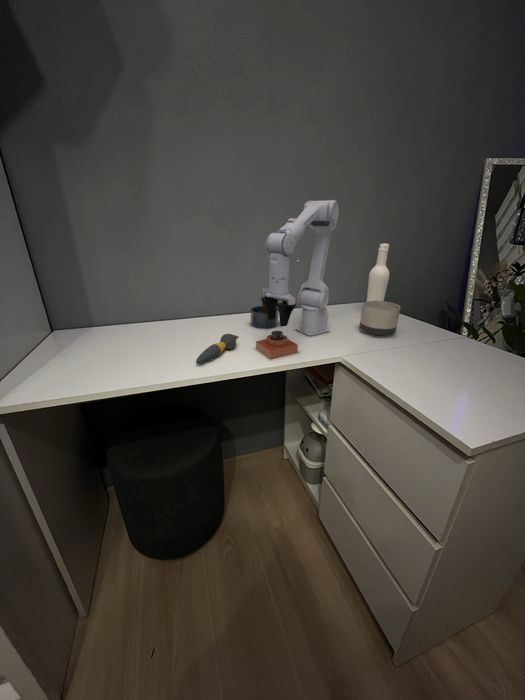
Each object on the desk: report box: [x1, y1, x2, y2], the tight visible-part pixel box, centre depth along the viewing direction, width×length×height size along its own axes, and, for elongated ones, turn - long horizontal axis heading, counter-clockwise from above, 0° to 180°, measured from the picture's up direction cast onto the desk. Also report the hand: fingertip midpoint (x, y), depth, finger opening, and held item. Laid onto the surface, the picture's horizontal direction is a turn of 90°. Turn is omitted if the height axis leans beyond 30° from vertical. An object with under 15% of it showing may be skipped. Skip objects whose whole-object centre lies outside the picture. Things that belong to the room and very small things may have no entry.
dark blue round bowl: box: [250, 305, 279, 330], centre depth 118 cm, size 11×11×6 cm
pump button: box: [270, 330, 284, 340], centre depth 93 cm, size 4×4×2 cm
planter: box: [358, 300, 401, 337], centre depth 109 cm, size 13×13×10 cm
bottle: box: [366, 243, 390, 301], centre depth 124 cm, size 8×8×30 cm
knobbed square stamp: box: [255, 334, 299, 360], centre depth 94 cm, size 10×9×4 cm
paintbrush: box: [195, 333, 240, 365], centre depth 91 cm, size 20×5×5 cm, turn 155°
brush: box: [258, 301, 266, 313], centre depth 117 cm, size 6×6×10 cm
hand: (277, 322), depth 91 cm, fingers open, 6 cm apart
